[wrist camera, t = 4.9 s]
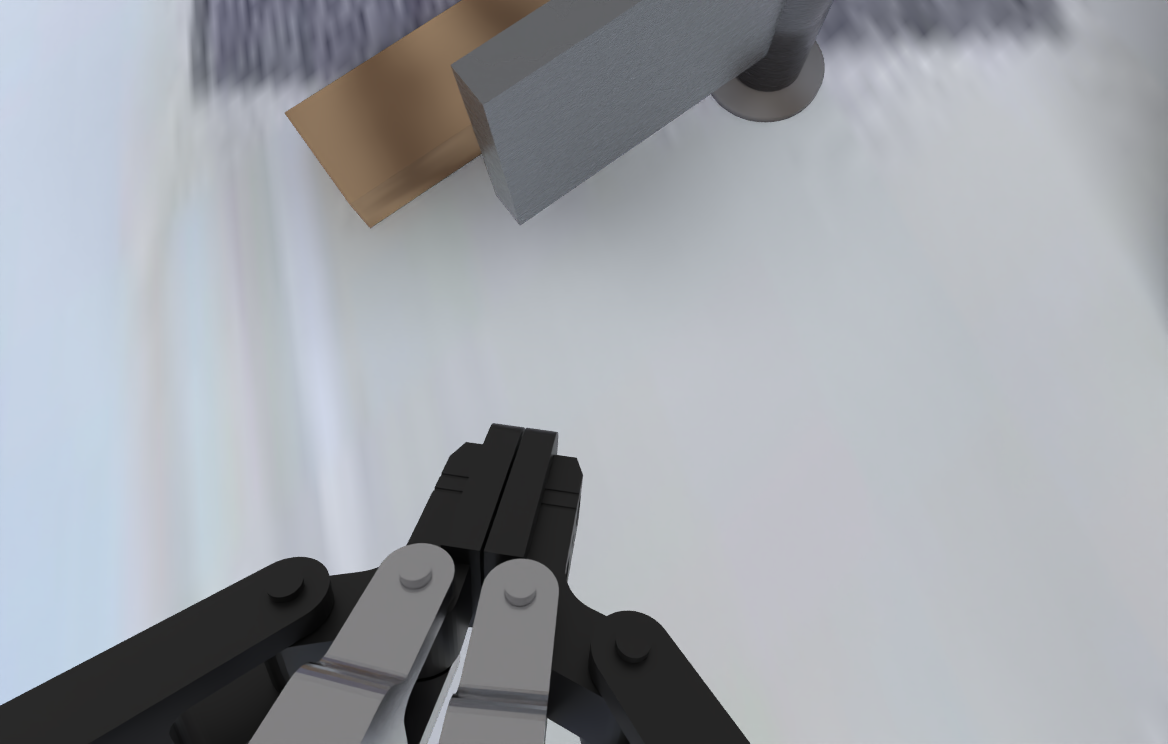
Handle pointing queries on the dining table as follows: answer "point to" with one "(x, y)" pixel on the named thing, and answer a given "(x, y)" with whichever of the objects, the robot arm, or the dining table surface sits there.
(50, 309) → the dining table surface
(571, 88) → the bar
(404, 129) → the door edge
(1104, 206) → the dining table surface
